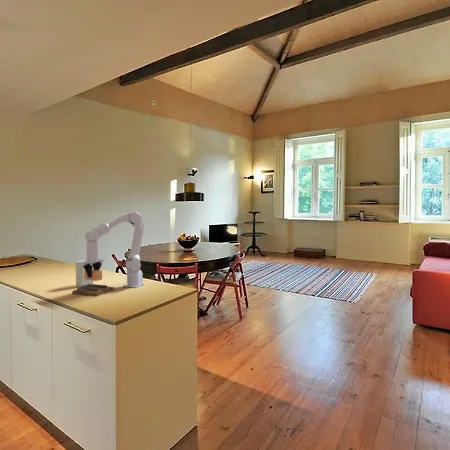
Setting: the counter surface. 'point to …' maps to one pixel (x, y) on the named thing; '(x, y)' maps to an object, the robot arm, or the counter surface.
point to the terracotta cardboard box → (94, 275)
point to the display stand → (92, 289)
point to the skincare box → (81, 275)
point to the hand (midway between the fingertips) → (92, 276)
